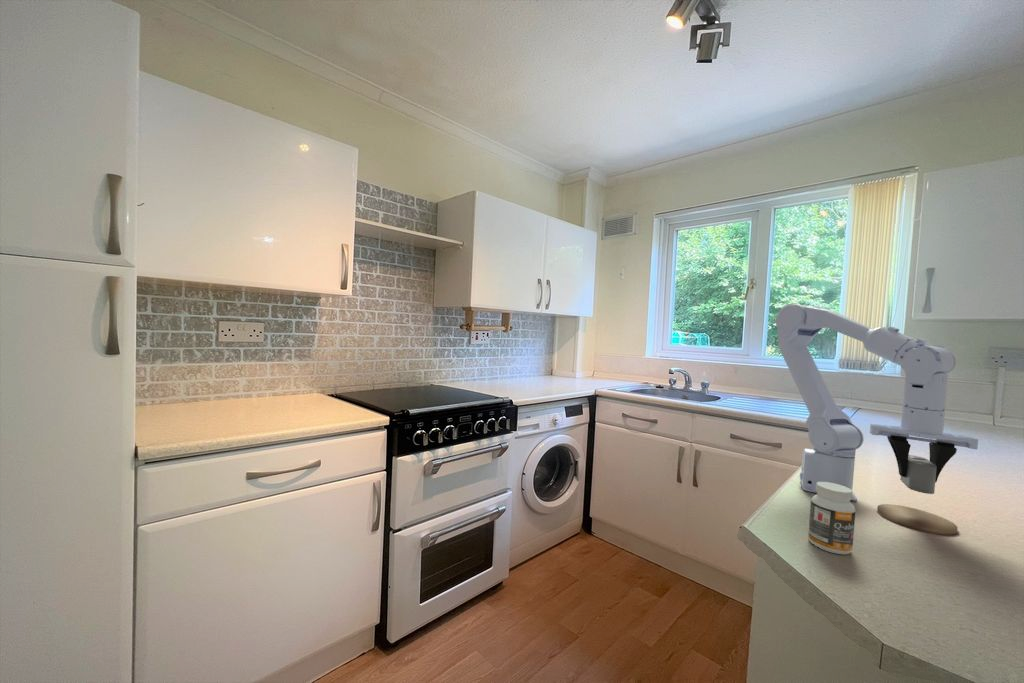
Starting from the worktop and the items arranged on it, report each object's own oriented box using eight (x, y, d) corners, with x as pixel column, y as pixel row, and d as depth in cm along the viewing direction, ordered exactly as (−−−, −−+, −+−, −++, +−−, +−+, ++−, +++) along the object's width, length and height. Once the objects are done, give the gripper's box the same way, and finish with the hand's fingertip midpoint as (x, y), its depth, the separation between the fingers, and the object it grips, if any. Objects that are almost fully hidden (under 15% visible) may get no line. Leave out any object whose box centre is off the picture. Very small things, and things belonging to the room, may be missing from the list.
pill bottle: (840, 559, 63) (846, 496, 62) (800, 541, 68) (805, 482, 67) (859, 551, 65) (864, 491, 65) (818, 534, 70) (823, 478, 70)
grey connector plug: (937, 495, 74) (939, 468, 73) (910, 490, 75) (913, 463, 75) (918, 478, 83) (920, 454, 83) (895, 474, 85) (897, 450, 84)
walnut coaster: (884, 522, 77) (885, 518, 77) (871, 503, 86) (871, 499, 86) (968, 541, 71) (968, 536, 71) (944, 518, 80) (944, 514, 80)
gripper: (878, 405, 78) (872, 474, 79) (988, 417, 70) (981, 494, 71) (870, 400, 84) (864, 465, 85) (971, 411, 76) (964, 482, 77)
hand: (917, 478), depth 78 cm, fingers closed on grey connector plug, 3 cm apart
